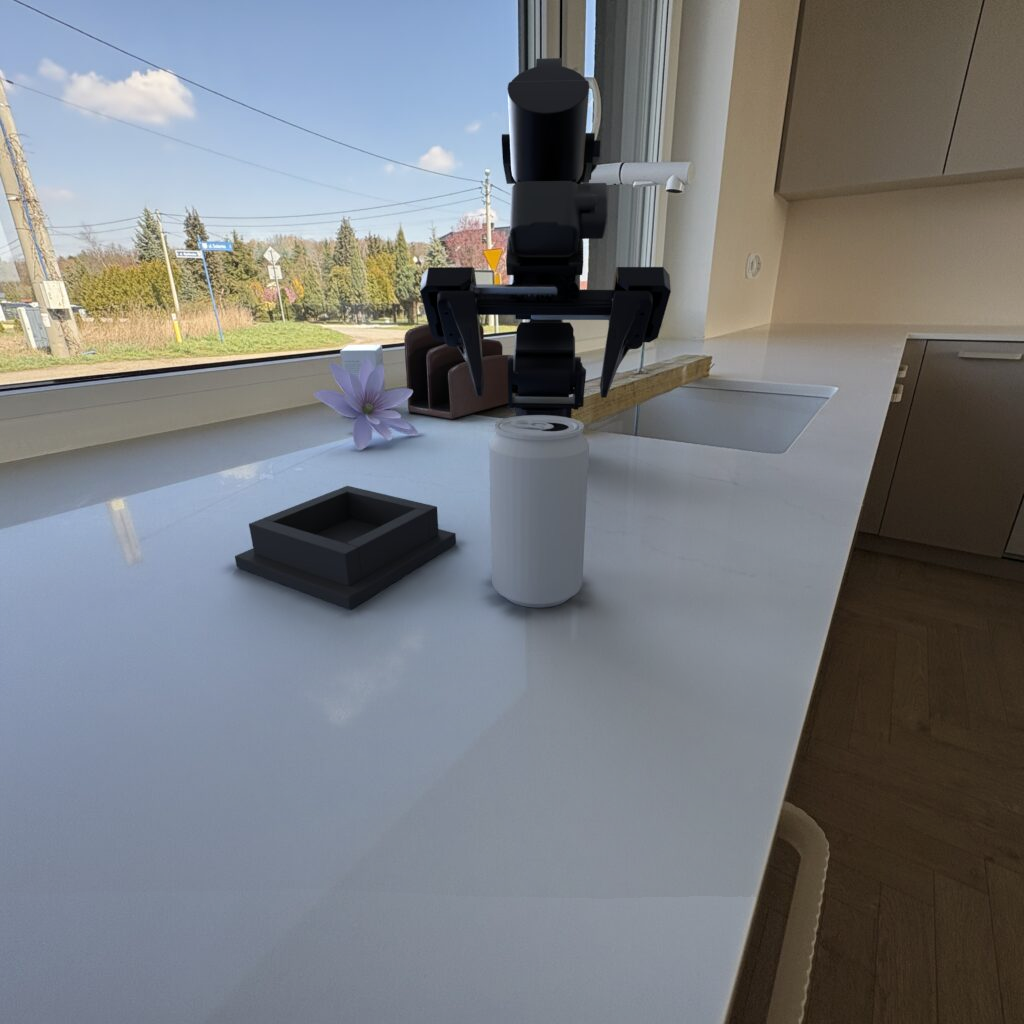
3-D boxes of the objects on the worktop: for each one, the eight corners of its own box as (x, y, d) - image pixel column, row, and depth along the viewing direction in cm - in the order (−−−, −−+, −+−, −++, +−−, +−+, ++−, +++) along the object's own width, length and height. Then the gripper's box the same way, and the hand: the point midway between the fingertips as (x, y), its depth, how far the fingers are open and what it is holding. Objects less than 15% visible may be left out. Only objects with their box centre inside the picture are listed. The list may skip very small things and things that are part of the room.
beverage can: (577, 618, 37) (586, 438, 32) (481, 608, 38) (477, 432, 33) (585, 572, 42) (594, 414, 38) (501, 564, 44) (500, 410, 39)
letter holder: (407, 412, 95) (401, 324, 89) (481, 395, 110) (479, 318, 104) (452, 420, 89) (448, 326, 84) (523, 400, 104) (524, 320, 99)
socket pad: (351, 515, 53) (347, 480, 52) (456, 543, 47) (454, 504, 46) (236, 567, 43) (227, 525, 42) (350, 610, 38) (344, 563, 36)
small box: (354, 407, 99) (348, 344, 95) (387, 406, 99) (382, 344, 95) (346, 417, 91) (338, 349, 87) (381, 416, 92) (375, 349, 88)
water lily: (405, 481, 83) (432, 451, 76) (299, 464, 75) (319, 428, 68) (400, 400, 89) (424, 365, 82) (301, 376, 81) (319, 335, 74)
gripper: (417, 146, 41) (389, 315, 35) (680, 142, 40) (698, 316, 34) (441, 267, 51) (423, 415, 45) (651, 267, 50) (661, 418, 44)
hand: (541, 393), depth 42 cm, fingers open, 9 cm apart
